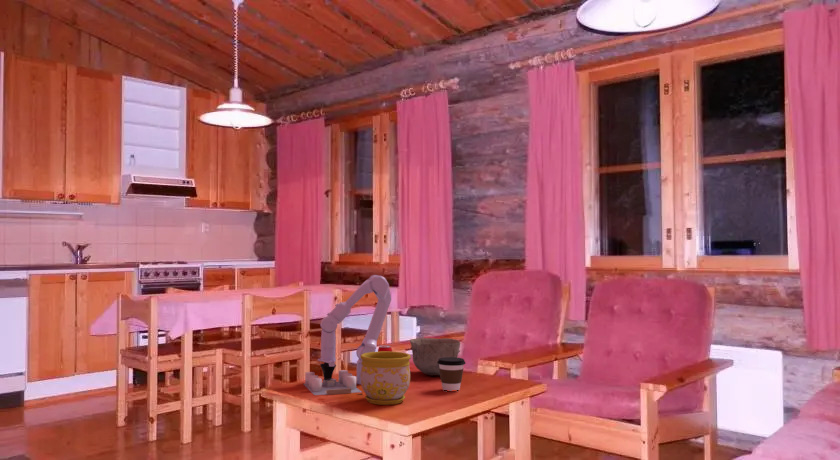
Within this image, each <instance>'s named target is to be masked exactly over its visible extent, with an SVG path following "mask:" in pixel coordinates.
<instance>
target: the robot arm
mask: <svg viewBox="0 0 840 460" xmlns="http://www.w3.org/2000/svg"><path fill="white" fill-rule="evenodd" d="M390 291H391V290H390V284H389V282H388V281H387V278H386V277H384V276H382V275H379V274H378V275H377V274H372V275H370V276H369V278H367V279H366V280H365V281H363V282H362V283H361V284H360V285H359V287H357V289H356V290H355V291H354V292H353V293H352V294H351V295H350V296H349V297H348V299H346V301H343V302H342V301H341V302H339V303H338V302H337V303H336V304H335V307H333V309H332V310H331V311H330V312H327V313H326V316H325V317H323V318H322V319H321V321H320V323H319V325H320V328H321V331H320V332H321V336H320V358H317V362H323V363H320V364H319V366H320V368H321V371H322V374H323V379H325V378H332V377H333V373H334V371H335V368H336V367H337V365H336V364H335V363H336V361H337V358H336V351H337V350H336V349H337V347H336V343H337V342H336V338H337V337H336V330H337V328H338V325H339V324H341V323H342V322H343V321H344V320H345V319H346V318H347V317H348V315H349V314H351V311H352V310H351V309H352V307H353V306H355V304H356V303H358V302H359V301H360V300H361V299H362V298H363V297H364V296H365V295H366V294H372V293H374V295H375V296H376V298H377V303H376V305H375V309H374V311H373V314H372V317H371V319H370V323H369V325H368V328H367V331H366V333H365V336H364V338H363V340H362V341H361V344H360V345H359V346H358V347H357V348H356V356H357V358H358V360H357V361H356V385H361V368H362V364H361V363H362V359H361V355H362V354H364V353H368V352H376V349H377V347H378V346H377V343H378V342H377V341H378V340H379V335H380V333H381V330H382V327H383V325H384V322H385V319H386V316H387V313H388V310H389V309H390V305H391V302H392V295H391V292H390Z"/></svg>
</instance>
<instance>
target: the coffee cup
mask: <svg viewBox="0 0 840 460" xmlns="http://www.w3.org/2000/svg"><path fill="white" fill-rule="evenodd" d="M437 363H438V364H439V371H440V375H439V378H440V382H441V388H442V390H443V391H444V390H449V391H452V390H459V391H460V389H461V383H462V381H463V373H464V370H465V369H464V365H466V361H465V359H464V358H462V357H458V356H457V357H444V358H439V359H438V361H437Z"/></svg>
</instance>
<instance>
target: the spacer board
mask: <svg viewBox="0 0 840 460" xmlns="http://www.w3.org/2000/svg"><path fill="white" fill-rule="evenodd" d="M304 376H305V377H304V379H305V380H304V383H303V386H305V388H306V389H307V390H309V392H310V393H311V394H313V396H323V395H324V396H325V395H326V396H331V395H332V396H333V395H346V394H354V393H355V394H356V393H359V394H357V396H360V395H361V396H362V395H363V393H362V392H363V391H362V390H360V389H359V388H357V375H356V376H355V375H353V373H350V372H349V370H346V369H344V370H343V369H341V370H340V369H339V370H338V381H336V386H335V387H324V386H323V379H322V378H321V377H319V375H315V372H314V371H307V372H305V374H304Z"/></svg>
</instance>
